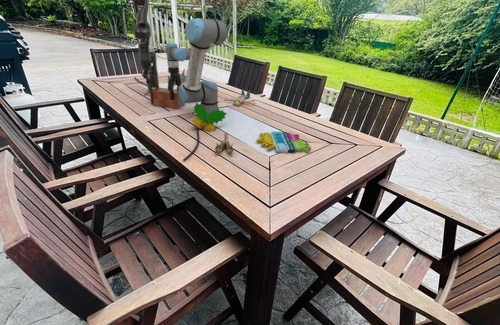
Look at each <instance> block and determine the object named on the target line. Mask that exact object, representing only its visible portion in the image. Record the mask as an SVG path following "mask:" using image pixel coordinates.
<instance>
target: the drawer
mask: <svg viewBox="0 0 500 325" xmlns="http://www.w3.org/2000/svg"><path fill="white" fill-rule="evenodd" d="M154 90H155V89H154ZM143 96H144V97H146V96H149V97H150V104H151V105H154V102H153V94H152V91H150V92H148V91H147V92H145V93H143Z"/></svg>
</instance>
